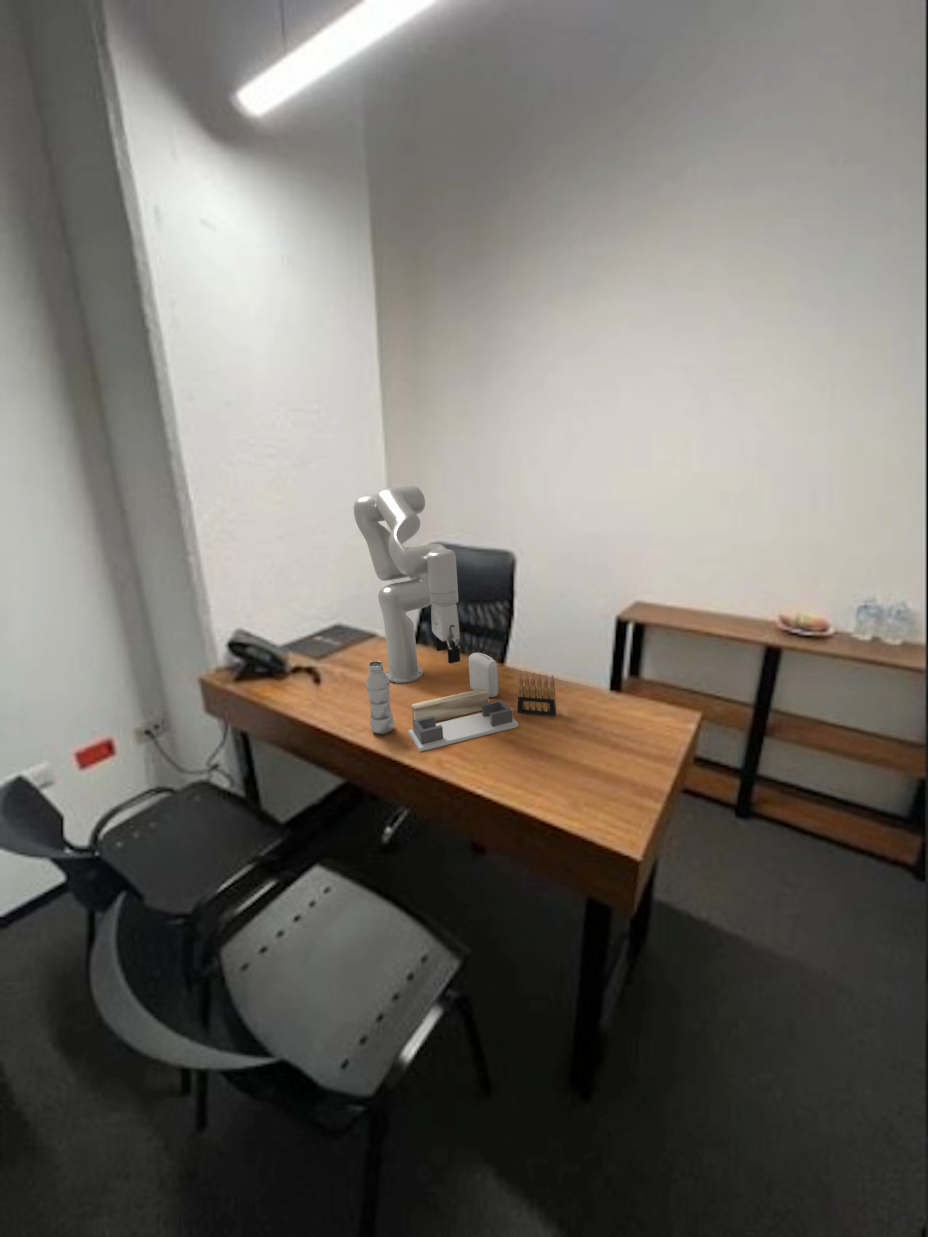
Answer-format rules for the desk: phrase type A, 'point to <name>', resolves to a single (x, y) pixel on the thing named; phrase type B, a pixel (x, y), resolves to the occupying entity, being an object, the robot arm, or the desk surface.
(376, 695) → the plastic bottle
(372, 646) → the desk surface
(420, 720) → the end cap board
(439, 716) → the slat
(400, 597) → the robot arm
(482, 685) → the photo printer
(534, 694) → the ammunition clip
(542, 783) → the desk surface
